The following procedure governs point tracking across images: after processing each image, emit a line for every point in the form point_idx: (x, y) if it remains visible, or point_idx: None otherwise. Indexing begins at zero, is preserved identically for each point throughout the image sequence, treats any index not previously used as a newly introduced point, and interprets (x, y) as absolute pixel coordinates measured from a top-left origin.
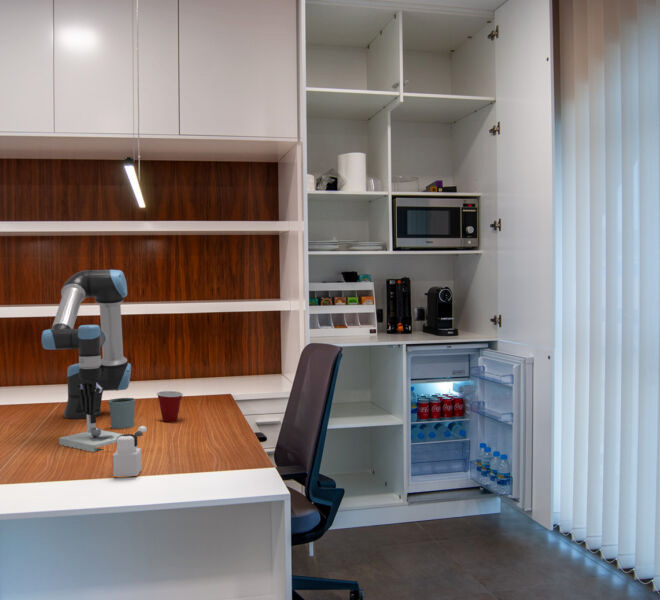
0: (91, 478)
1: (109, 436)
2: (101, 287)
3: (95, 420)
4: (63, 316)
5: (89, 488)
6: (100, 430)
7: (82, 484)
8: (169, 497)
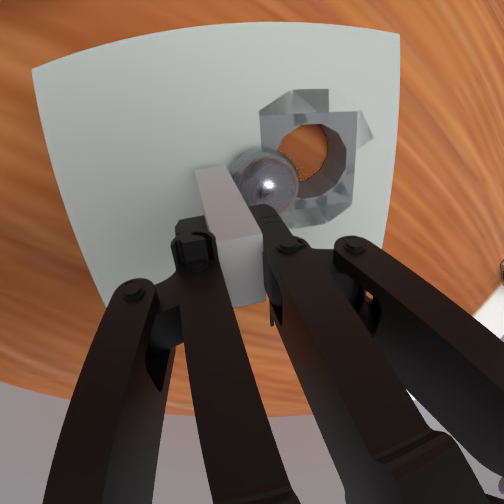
0: (475, 311)
1: (312, 109)
2: None
3: (276, 217)
4: None
5: (488, 322)
6: (292, 165)
7: None
8: None
